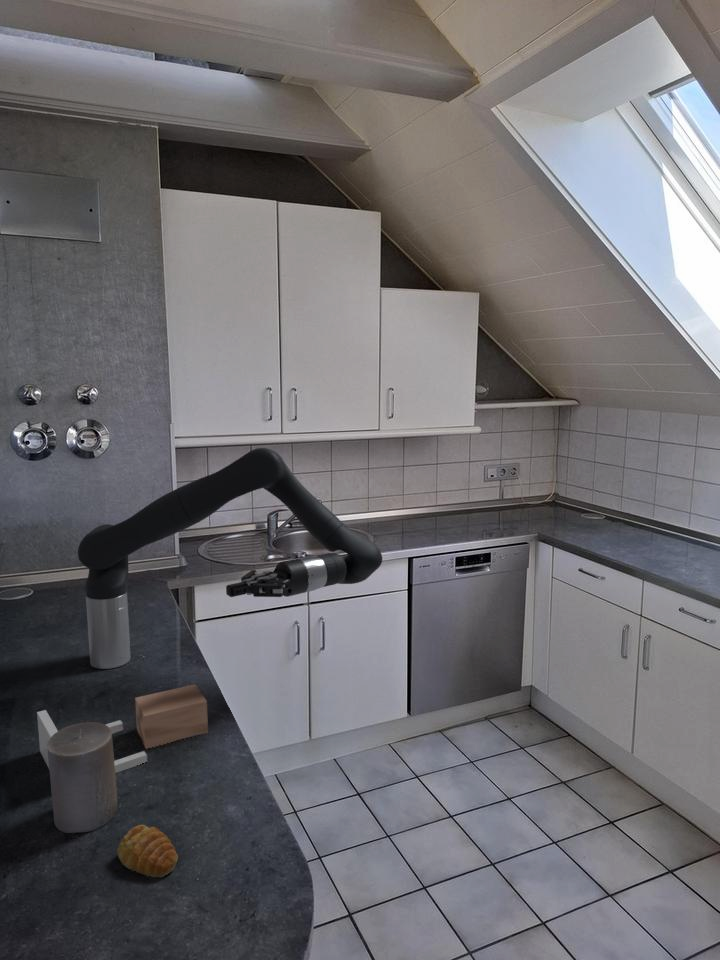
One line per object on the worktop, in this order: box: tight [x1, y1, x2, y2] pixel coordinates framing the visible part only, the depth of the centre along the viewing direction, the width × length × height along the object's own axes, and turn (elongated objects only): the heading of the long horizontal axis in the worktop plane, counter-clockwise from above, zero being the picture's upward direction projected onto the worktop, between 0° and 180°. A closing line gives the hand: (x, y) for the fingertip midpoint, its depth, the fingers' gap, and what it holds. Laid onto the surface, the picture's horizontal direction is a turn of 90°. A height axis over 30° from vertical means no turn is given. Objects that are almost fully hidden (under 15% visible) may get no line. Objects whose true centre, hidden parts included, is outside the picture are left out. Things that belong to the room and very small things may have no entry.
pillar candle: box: [47, 721, 119, 834], centre depth 112 cm, size 10×10×15 cm
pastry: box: [116, 824, 179, 878], centre depth 103 cm, size 9×7×4 cm
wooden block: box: [134, 683, 209, 750], centre depth 137 cm, size 8×12×7 cm, turn 119°
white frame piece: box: [36, 709, 148, 774], centre depth 128 cm, size 15×15×8 cm
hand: (228, 591), depth 141 cm, fingers closed
